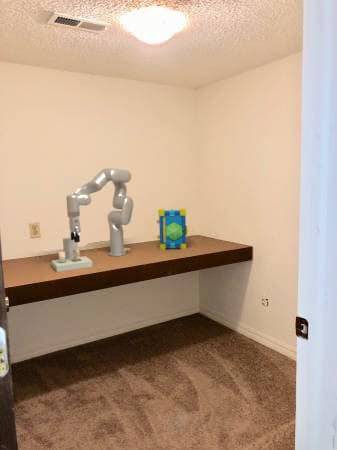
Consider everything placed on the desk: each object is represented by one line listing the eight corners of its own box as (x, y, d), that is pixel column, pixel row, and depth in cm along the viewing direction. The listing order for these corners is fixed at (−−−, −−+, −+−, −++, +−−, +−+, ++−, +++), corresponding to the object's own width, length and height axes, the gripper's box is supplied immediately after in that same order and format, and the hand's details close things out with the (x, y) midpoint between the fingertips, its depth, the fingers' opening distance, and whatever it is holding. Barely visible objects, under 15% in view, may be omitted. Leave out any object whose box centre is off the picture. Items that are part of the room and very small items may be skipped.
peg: (79, 264, 238) (78, 249, 237) (80, 265, 235) (79, 250, 233) (73, 265, 236) (72, 250, 235) (74, 266, 233) (73, 251, 231)
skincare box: (69, 260, 248) (68, 239, 246) (63, 259, 252) (62, 238, 249) (78, 258, 255) (77, 237, 253) (72, 257, 259) (71, 236, 256)
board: (85, 261, 246) (85, 246, 245) (92, 266, 232) (91, 251, 231) (52, 265, 236) (51, 250, 235) (57, 271, 222) (55, 255, 221)
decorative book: (187, 250, 272) (187, 210, 268) (157, 250, 273) (155, 210, 268) (187, 245, 287) (186, 207, 282) (157, 246, 287) (156, 208, 282)
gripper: (83, 215, 224) (84, 242, 227) (76, 212, 239) (77, 238, 242) (70, 216, 221) (72, 244, 224) (64, 213, 236) (66, 239, 239)
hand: (75, 240), depth 233 cm, fingers open, 9 cm apart
